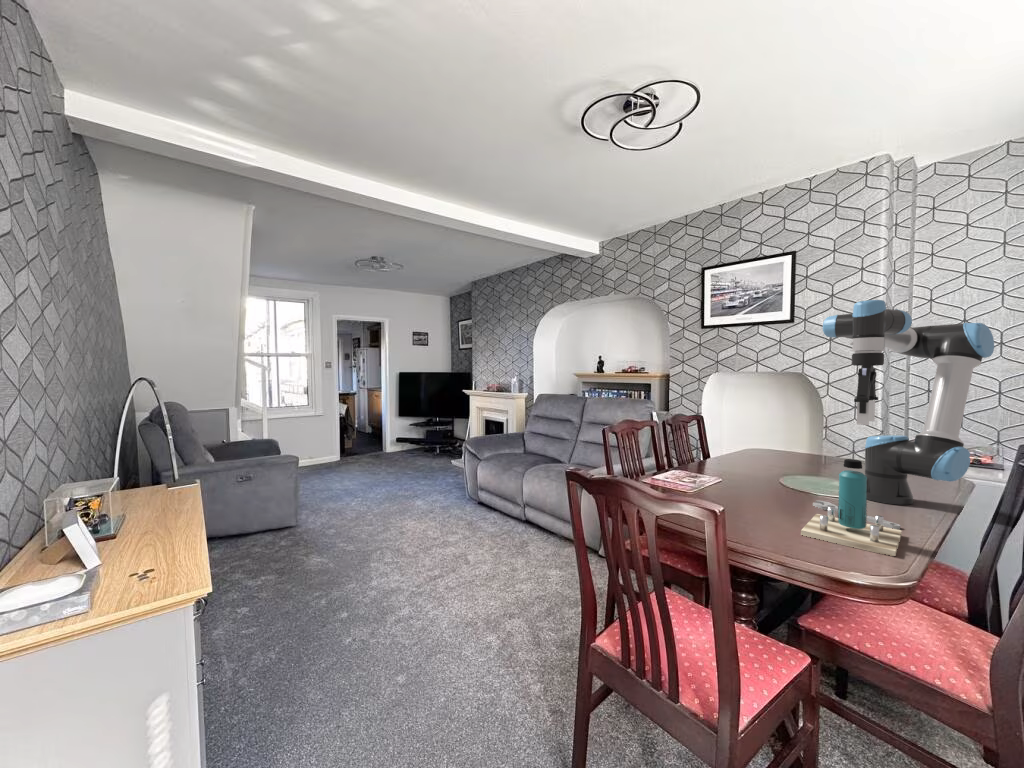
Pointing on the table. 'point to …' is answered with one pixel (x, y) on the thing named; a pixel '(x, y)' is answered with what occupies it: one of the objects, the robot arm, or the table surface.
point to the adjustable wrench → (825, 506)
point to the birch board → (854, 536)
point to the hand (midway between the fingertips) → (865, 422)
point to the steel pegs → (873, 528)
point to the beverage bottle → (852, 496)
